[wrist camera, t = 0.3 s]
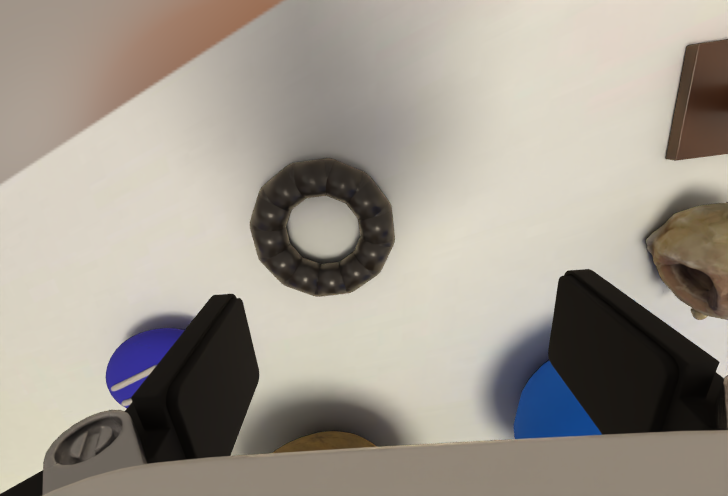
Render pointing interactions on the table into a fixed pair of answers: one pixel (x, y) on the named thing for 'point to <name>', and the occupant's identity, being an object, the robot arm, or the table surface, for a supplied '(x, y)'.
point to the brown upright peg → (701, 104)
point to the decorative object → (137, 361)
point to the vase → (550, 409)
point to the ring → (316, 182)
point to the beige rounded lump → (695, 258)
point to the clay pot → (325, 442)
